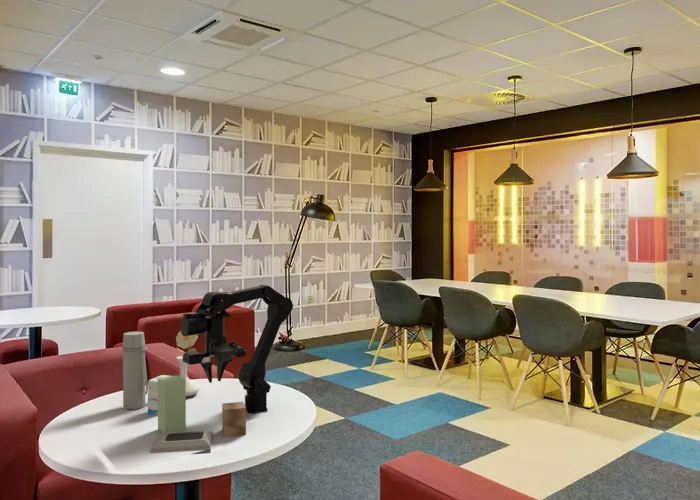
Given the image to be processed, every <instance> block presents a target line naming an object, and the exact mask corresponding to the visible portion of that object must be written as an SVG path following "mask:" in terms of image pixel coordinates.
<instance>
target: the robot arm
mask: <svg viewBox="0 0 700 500" xmlns="http://www.w3.org/2000/svg"><path fill="white" fill-rule="evenodd" d="M259 299H262V301H263V302H264V303H265V304H266V305H267V310H266V317H267V319H266V322H265V325H264V327H263V330H262V333H261V335H260V337H259V339H258V342H257V345H256V346H255V349H254V351H253V354H252V357H251V359H250V360H249V361H248V362H245V361H243V362H242V364H241V368H240V370H239V371H238V372H237V373H238V374H239V375H238V381H239V383H240V384H241V386H242V387H243V390H245V391H246V393H245V394H246V395H244V405H245V407H246V413H249V414H251V413H260V412H267V411H269V410H268V406H267V405H268V404H267V402H268V401H267V396H268V395H267V394H268V393H270V390H271V388H272V386H271V385H270V383H268V382H267V381H266V380H265V378H266V374H267V372H266V371H267V370H266V363H267V361H268V358H269V356H270V353H271V350H272V348H273V345H274V342H275V340H276V338H277V335H278V333H279V330H280V327H281V325H282V324H283V323H284V322H285V321H286V320H287V319H288V318H289V316H290V315H291V312H292V310H293V307H294V303H293V301H292V300H291V298H289V297H286V296H284V295H283V294H282V293H280V292H278V291H277V290H275V289H274V288H273V287H272V286H270V285H266V284H259V285H257V286H253V287H248V288H244V289H239V290H233V291H209V292H206V293H205V294H204V296H203V298H202V302H201V303H200V305H199V306H198V308H197V309H196V310H195V312H194V313H193V312H192V313H187V312H186V313H183V314H182V315H183V317H182V319H181V321H180V323H179V329H180V330H179V332H180V331H181V333H182V335H183V336H192V335H197V336H198V335H203V334H204V335H203V339H205V340H204V341H205V342H204V343H205V347H204V348H203V352H198V351H197V352H196V351H193V352H188V351H187V352H185V351H184V352H185V353H183V355H182V356H183V362H185V363H187V365H189V366H190V365H198V364H199V365H200V366H201V367H202V369H203V371H204V373H205V376H206V379H207V381H208V383H210V384H212V383H213V382H212V381H213V375H212V374H213V373H212V371H213V370H212V369H213V365H214V362H212V361H211V359H216V376H217V381H218V382H221V381H222V377H223V375H224V372H225V369H226V367H227V365H228V364H229V363H230V362H232V361H233V357H232V356H234V357H236V358H237V359H239V358H245V357H246V349H245V348H244V347H243V346H240V345H238V344H239V343H238V342H236V341H231V342H227V336H226V335H225V318H226V319H227V318H231V317H232V316H231V314H229V312H228V311H227V310H228V309H229V308H231V307H233V306H235V305H237V304H241V303H245V302H250V301H255V300H259Z"/></svg>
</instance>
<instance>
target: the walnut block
mask: <svg viewBox="0 0 700 500" xmlns="http://www.w3.org/2000/svg"><path fill="white" fill-rule="evenodd" d="M221 404H222V405H221V406H222V407H221V408H222V410H221V415H222V416H221V417H222V420H221V422H222V423H221V426H222V427H221V428H222V429H221V430H222V434H223V437H224V438H228V437H229V438H230V437H239V436H245V435H247V410H246V407H245V402H244V401H236V402H235V401H234V402H223V403H221Z"/></svg>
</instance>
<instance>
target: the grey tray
mask: <svg viewBox="0 0 700 500" xmlns="http://www.w3.org/2000/svg"><path fill="white" fill-rule="evenodd" d="M213 438H214V433H213V432H212V431H210V430H208V429H206V430H190V431H189V430H186V431H181V432H166V433H161V434H158V436H157V437H156V439H155V441H154V442H153V444H152V447H151V448H150V453H159V452H160V453H162V452H177V451H178V452H179V451H196V450H201V451H197V452H193V453H192V455H203V454H204V455H205V454H206V455H207V454H210V453H211V451H212V450H211V449H212V448H211V445H212V442H213Z"/></svg>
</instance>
